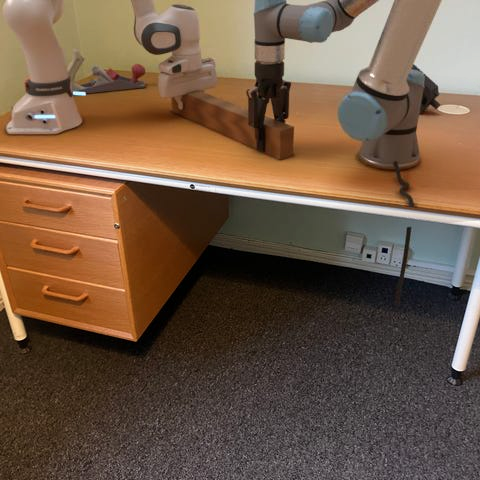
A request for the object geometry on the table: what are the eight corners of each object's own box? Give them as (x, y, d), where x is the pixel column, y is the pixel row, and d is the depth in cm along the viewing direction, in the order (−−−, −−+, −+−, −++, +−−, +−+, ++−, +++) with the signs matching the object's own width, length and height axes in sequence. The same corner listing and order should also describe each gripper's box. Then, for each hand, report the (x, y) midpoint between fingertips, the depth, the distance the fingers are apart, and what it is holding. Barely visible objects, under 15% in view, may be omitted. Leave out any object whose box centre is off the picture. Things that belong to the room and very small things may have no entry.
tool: (378, 91, 179) (405, 54, 169) (421, 128, 175) (451, 93, 164) (370, 95, 176) (396, 58, 165) (413, 134, 171) (443, 98, 161)
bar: (293, 155, 142) (294, 126, 138) (279, 160, 140) (280, 130, 136) (184, 108, 178) (182, 84, 173) (172, 111, 175) (170, 87, 171)
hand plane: (62, 90, 197) (53, 48, 189) (145, 82, 205) (140, 41, 197) (62, 96, 191) (54, 53, 184) (148, 87, 199) (143, 45, 191)
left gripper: (208, 54, 170) (210, 97, 177) (153, 65, 159) (157, 110, 167) (220, 58, 166) (222, 102, 173) (164, 69, 155) (168, 115, 162)
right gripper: (285, 52, 141) (283, 136, 153) (232, 64, 131) (234, 152, 144) (305, 57, 136) (301, 143, 148) (251, 69, 126) (252, 160, 139)
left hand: (190, 106), depth 170 cm, fingers closed on bar, 5 cm apart
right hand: (268, 147), depth 146 cm, fingers closed on bar, 5 cm apart
